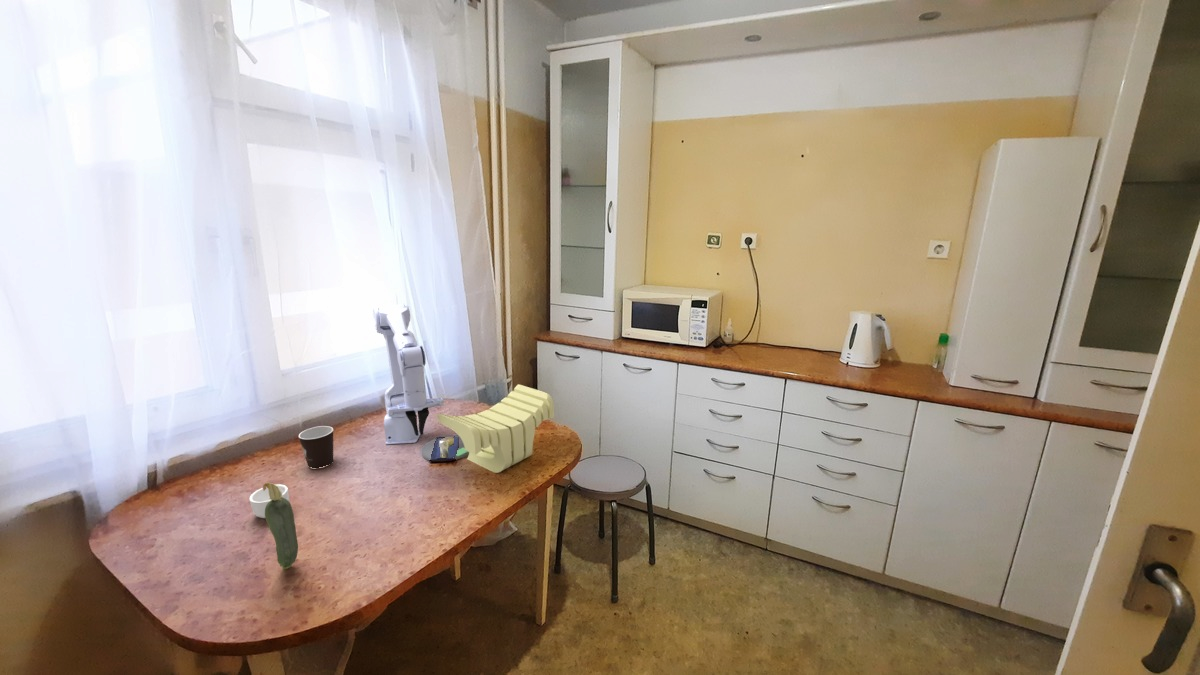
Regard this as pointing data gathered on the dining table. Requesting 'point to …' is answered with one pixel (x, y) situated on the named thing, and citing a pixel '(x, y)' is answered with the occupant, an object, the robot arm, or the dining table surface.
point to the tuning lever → (445, 446)
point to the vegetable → (281, 526)
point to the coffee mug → (317, 446)
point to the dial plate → (429, 446)
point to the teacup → (265, 499)
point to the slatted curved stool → (503, 428)
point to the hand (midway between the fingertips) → (418, 433)
